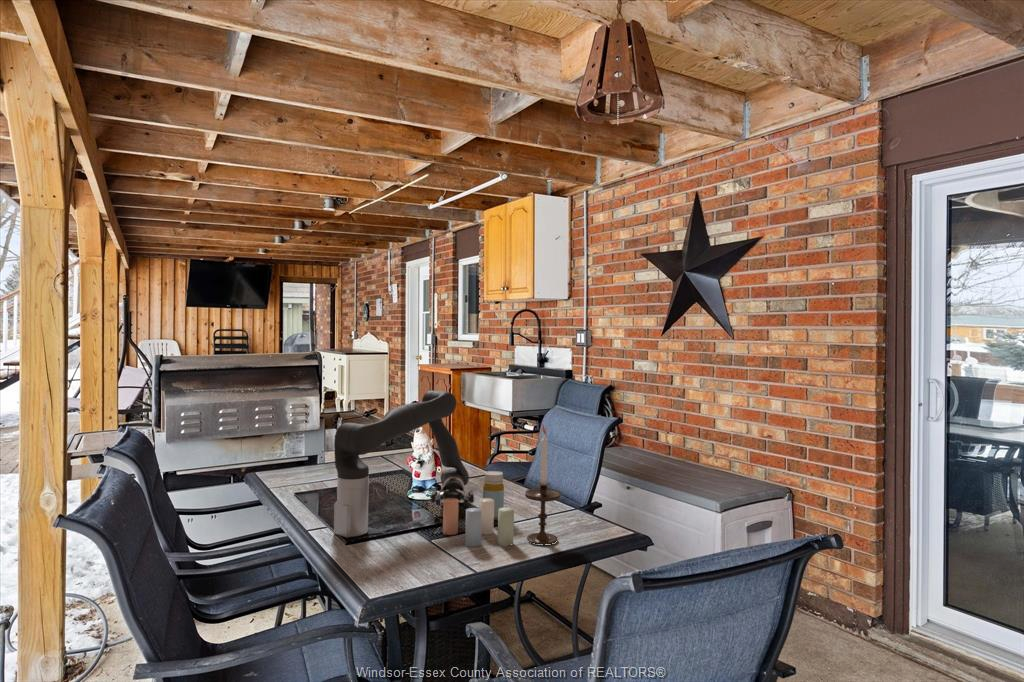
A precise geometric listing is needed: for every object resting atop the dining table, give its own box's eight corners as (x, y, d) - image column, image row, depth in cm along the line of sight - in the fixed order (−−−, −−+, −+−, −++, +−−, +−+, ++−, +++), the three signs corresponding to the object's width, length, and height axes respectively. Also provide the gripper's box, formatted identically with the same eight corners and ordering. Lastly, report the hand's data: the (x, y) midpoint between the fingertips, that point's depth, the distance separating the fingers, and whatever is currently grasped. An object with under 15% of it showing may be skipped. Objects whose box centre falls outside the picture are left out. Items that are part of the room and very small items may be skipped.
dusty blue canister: (474, 548, 177) (474, 513, 176) (461, 544, 179) (462, 510, 179) (484, 543, 180) (484, 509, 180) (472, 540, 183) (472, 507, 183)
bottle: (485, 521, 201) (485, 476, 201) (480, 515, 208) (481, 471, 207) (505, 520, 203) (506, 475, 203) (500, 514, 210) (501, 470, 209)
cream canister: (487, 535, 187) (487, 503, 187) (475, 532, 190) (476, 500, 190) (496, 532, 191) (497, 500, 191) (484, 528, 194) (485, 497, 194)
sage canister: (507, 547, 178) (507, 513, 178) (494, 544, 180) (495, 510, 180) (516, 543, 181) (517, 509, 181) (503, 539, 184) (504, 506, 184)
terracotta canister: (450, 535, 187) (451, 503, 186) (439, 532, 189) (440, 500, 189) (460, 532, 190) (461, 500, 190) (449, 528, 193) (450, 497, 193)
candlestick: (530, 548, 177) (533, 427, 177) (519, 536, 188) (522, 421, 187) (565, 545, 180) (568, 426, 180) (553, 533, 191) (555, 420, 190)
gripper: (433, 478, 216) (430, 491, 200) (473, 478, 217) (474, 491, 201) (432, 499, 217) (429, 513, 200) (473, 500, 217) (473, 514, 201)
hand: (451, 502), depth 201 cm, fingers open, 8 cm apart
